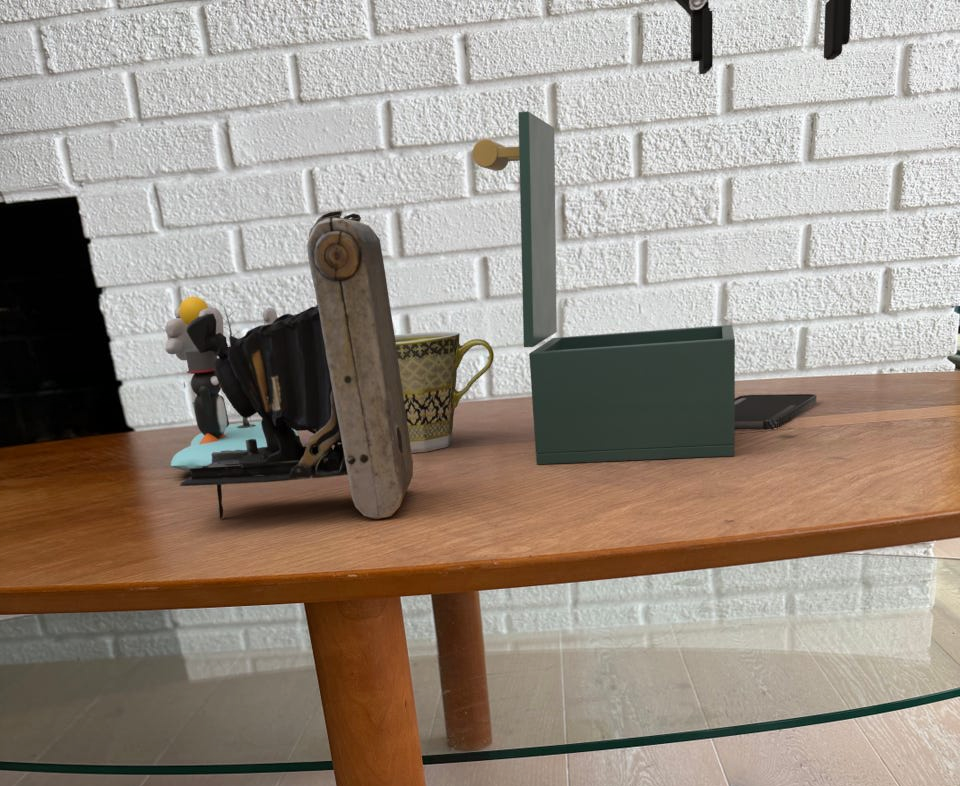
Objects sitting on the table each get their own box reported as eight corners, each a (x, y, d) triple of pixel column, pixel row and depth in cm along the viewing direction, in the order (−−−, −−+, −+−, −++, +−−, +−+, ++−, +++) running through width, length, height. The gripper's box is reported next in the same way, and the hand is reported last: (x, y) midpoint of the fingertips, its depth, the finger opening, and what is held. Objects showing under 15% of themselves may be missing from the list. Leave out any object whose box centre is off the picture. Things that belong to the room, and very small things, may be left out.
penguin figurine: (276, 475, 88) (246, 293, 83) (155, 486, 88) (118, 305, 83) (309, 437, 107) (287, 286, 102) (209, 445, 107) (182, 296, 102)
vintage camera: (226, 509, 79) (165, 239, 72) (419, 486, 78) (378, 210, 71) (190, 544, 70) (116, 241, 63) (407, 519, 69) (358, 207, 62)
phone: (690, 421, 92) (741, 394, 103) (690, 433, 92) (741, 405, 104) (776, 421, 88) (820, 393, 99) (776, 434, 88) (820, 405, 100)
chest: (732, 427, 91) (732, 324, 88) (734, 456, 79) (734, 338, 76) (558, 436, 94) (552, 337, 91) (536, 464, 83) (528, 353, 80)
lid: (554, 127, 85) (494, 131, 86) (528, 111, 73) (459, 115, 74) (556, 332, 91) (500, 333, 92) (533, 347, 79) (469, 348, 80)
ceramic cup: (353, 460, 92) (338, 347, 88) (377, 440, 101) (364, 337, 97) (494, 451, 90) (485, 335, 86) (505, 432, 99) (497, 326, 96)
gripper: (653, -211, 70) (659, 69, 76) (914, -249, 68) (898, 42, 74) (646, -170, 77) (652, 84, 83) (883, -203, 75) (871, 59, 81)
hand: (768, 64), depth 78 cm, fingers open, 9 cm apart
